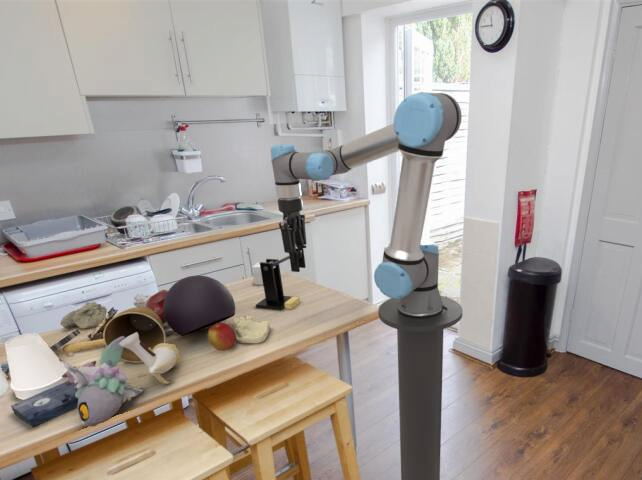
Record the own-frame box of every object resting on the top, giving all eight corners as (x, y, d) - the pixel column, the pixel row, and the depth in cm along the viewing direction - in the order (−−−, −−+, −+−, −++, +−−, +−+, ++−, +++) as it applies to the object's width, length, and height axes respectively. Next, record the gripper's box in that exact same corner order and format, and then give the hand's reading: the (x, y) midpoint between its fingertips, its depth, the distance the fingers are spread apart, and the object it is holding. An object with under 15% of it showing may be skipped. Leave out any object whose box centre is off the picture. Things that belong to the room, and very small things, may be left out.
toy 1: (29, 366, 128) (43, 359, 123) (24, 362, 127) (38, 355, 122) (71, 337, 138) (86, 329, 133) (67, 333, 138) (82, 325, 132)
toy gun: (136, 324, 125) (168, 369, 131) (104, 351, 106) (143, 402, 111) (169, 308, 126) (199, 353, 131) (143, 332, 106) (180, 384, 112)
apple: (240, 331, 138) (232, 316, 132) (237, 354, 134) (229, 340, 127) (215, 332, 138) (206, 317, 131) (211, 355, 134) (201, 341, 127)
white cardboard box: (259, 279, 186) (256, 262, 183) (274, 279, 186) (271, 262, 182) (254, 285, 181) (251, 267, 177) (269, 284, 180) (266, 267, 177)
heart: (145, 291, 152) (161, 283, 147) (167, 302, 158) (183, 294, 152) (133, 322, 147) (149, 315, 141) (156, 333, 152) (172, 325, 147)
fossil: (66, 297, 144) (53, 324, 145) (97, 313, 144) (83, 340, 145) (95, 296, 158) (83, 320, 159) (123, 311, 159) (110, 335, 160)
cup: (-24, 350, 106) (2, 398, 113) (21, 354, 104) (45, 402, 111) (23, 326, 116) (44, 371, 123) (64, 329, 114) (84, 374, 121)
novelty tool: (174, 328, 149) (64, 350, 133) (172, 318, 148) (60, 340, 132) (180, 338, 143) (65, 362, 127) (178, 328, 142) (62, 352, 126)
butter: (299, 302, 163) (299, 297, 163) (291, 309, 158) (291, 303, 157) (293, 301, 164) (292, 296, 163) (284, 308, 159) (284, 303, 158)
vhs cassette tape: (13, 414, 107) (32, 428, 102) (8, 404, 105) (27, 417, 100) (95, 380, 120) (115, 390, 115) (92, 370, 119) (112, 380, 114)
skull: (183, 300, 161) (181, 314, 163) (141, 286, 160) (140, 301, 162) (172, 308, 154) (171, 322, 157) (128, 294, 153) (128, 309, 156)
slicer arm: (305, 255, 153) (300, 245, 152) (300, 258, 150) (295, 248, 149) (272, 270, 159) (266, 261, 158) (266, 273, 156) (261, 264, 155)
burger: (108, 309, 134) (131, 324, 138) (116, 303, 145) (138, 317, 148) (80, 340, 134) (105, 355, 137) (91, 332, 144) (113, 346, 148)
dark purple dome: (174, 340, 143) (151, 295, 141) (235, 316, 152) (215, 273, 150) (175, 336, 125) (149, 283, 123) (244, 309, 134) (221, 259, 132)
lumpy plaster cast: (237, 329, 145) (236, 312, 142) (271, 332, 146) (271, 314, 143) (228, 344, 135) (227, 326, 132) (264, 347, 136) (264, 328, 134)
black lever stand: (295, 299, 166) (289, 257, 159) (281, 310, 157) (274, 266, 150) (270, 297, 168) (263, 256, 161) (256, 307, 160) (248, 264, 153)
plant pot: (110, 297, 133) (97, 314, 119) (166, 293, 137) (160, 310, 124) (120, 344, 138) (109, 366, 124) (174, 339, 143) (169, 359, 129)
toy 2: (86, 436, 99) (61, 377, 92) (75, 404, 110) (52, 350, 103) (156, 410, 107) (137, 354, 100) (139, 383, 118) (121, 331, 111)
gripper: (291, 193, 151) (300, 261, 162) (264, 202, 137) (276, 276, 148) (311, 193, 149) (319, 262, 160) (287, 203, 135) (297, 278, 146)
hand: (298, 269), depth 154 cm, fingers closed on slicer arm, 4 cm apart
